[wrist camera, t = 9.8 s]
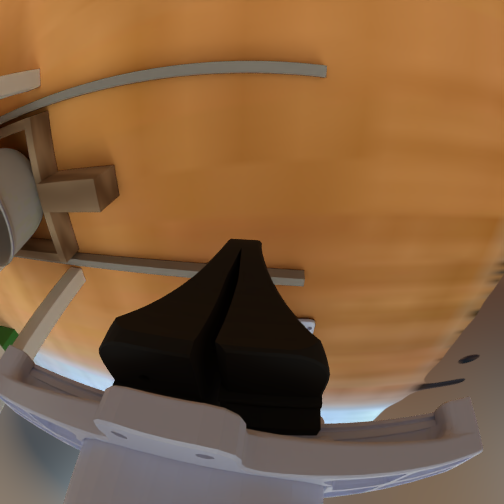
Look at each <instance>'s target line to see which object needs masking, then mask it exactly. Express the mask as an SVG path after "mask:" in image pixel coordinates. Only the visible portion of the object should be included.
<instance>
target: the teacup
mask: <svg viewBox="0 0 504 504" xmlns="http://www.w3.org/2000/svg"><path fill="white" fill-rule="evenodd" d="M42 216H43V210H42V206H41V203H40V199H39V196H38V192H37V188H36V184H35V180H34V176H33V171H32V167H31V162H30V161H29V160H28V159H27V158H26V157H25V156H24V155H23V154H22V153H20V152H19V151H17V150H15V149H11V148H1V149H0V267H3V266H6V265H8V264H9V263H10V262H11V261H12V259H13V257H14V256H15V254H16V253H17V252H18V251H19V250H20V249H21V248H22V247H23V245H24V244H25V243H26V242H27V241H28V240H29V238H30V237H31V236H32V235H33V234H34V232H35V231H36V230H37V228H38V226H39V224H40V222H41V219H42Z"/></svg>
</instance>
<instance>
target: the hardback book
mask: <svg viewBox="0 0 504 504" xmlns="http://www.w3.org/2000/svg"><path fill="white" fill-rule="evenodd" d="M17 337H18V333H17V332H16V331H15V329H11V328H7V327H3V326H0V345H1V347H2V348H3V349H4V351H6V349H7V348H8V346H9V345H13V343H14V342H15V340H16V339H17ZM4 405H5V403H4V402H3V401H2V400H1V399H0V413H1V411H2V409H3V407H4Z"/></svg>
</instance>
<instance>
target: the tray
mask: <svg viewBox="0 0 504 504" xmlns="http://www.w3.org/2000/svg"><path fill="white" fill-rule="evenodd" d="M22 130H25V134H26V141H27V146H28V152H29V157H30V162H31V167H32V171H33V176H34V180H35V184H36V188H37V192H38V196H39V199H40V203H41V206H42V210H43V213H44V216H45V220H46V223H47V226H48V229H49V232H50V235H51V238H52V239H37V238H29V240H28V241H27V242H26V243H25V244H24V245H23V247H22V248H21V249H20V250H19V251H18V252H17V253H16V254H15V256H21V257H28V258H35V259H42V260H50V261H57V262H65V263H67V262H68V261H69V260H70V259H71V258H72V257H73V255H74V254H75V253H76V252H77V251H78V250H79V247H78V244H77V241H76V238H75V235H74V232H73V228H72V225H71V222H70V218H69V215H68V212H101V211H102V210H103V209H105V208H106V207H107V206H108V205H109V204H110V203H111V202H112V201H114V200H115V199H116V198H117V197H118V196H119V191H118V185H117V180H116V174H115V168H114V165H108V166H97V167H87V168H78V169H70V170H62V171H58V170H57V165H56V160H55V155H54V149H53V143H52V137H51V130H50V122H49V114H48V111H45V112H42V113H39V114H36V115H33V116H30V117H28V118H25V119H23V120H20V121H18V122H15V123H13V124H10V125H8V126H6V127H3V128H1V129H0V139H1V138H4V137H6V136H9V135H11V134H14V133H17V132H20V131H22Z"/></svg>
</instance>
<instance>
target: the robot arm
mask: <svg viewBox="0 0 504 504" xmlns="http://www.w3.org/2000/svg"><path fill="white" fill-rule="evenodd" d="M261 247H262V243H261V242H260V241H258V240H243V239H230V240H229V241H228V242H227V243H226V244H225V245H224V246H223V248H222V249H221V250H220V251H219V252H218V253H217V254H216V255H215V256H214V257H213V258H212V259H211V260H210V261H209V263H208V264H207V265H205V266H204V267H203V268H202V269H201V270H200V271H199V272H198V273H197V274H196V275H194V276H193V277H192V278H191V279H190V280H188V281H187V282H186V283H184V284H183V285H182V286H180V287H179V288H177V289H176V290H174V291H172V292H171V293H169V294H167V295H166V296H164V297H163V298H161V299H159V300H157V301H155V302H153V303H151V304H149V305H147V306H145V307H143V308H140V309H138V310H135V311H133V312H130V313H128V314H125V315H122V316H119V317H116V319H115V320H114V322H113V323H112V325H111V326H110V328H109V330H108V332H107V334H106V336H105V338H104V340H103V342H102V344H101V346H100V347H99V354H100V357H101V359H102V361H103V363H104V364H105V366H106V367H107V369H108V370H109V372H110V373H111V375H112V376H113V378H114V379H115V381H114V383H113V386H111V387H109V388H107V389H106V390H105V391H102V390H99V389H96V388H93V387H90V386H87V385H84V384H81V383H79V382H76V381H74V380H71V379H68V378H66V377H63V376H61V375H59V374H56V373H54V372H51V371H49V370H47V369H45V368H42V367H40V366H38V365H36V364H34V362H33V360H32V359H31V358H30V356H29V355H28V354H27V353H25V352H24V351H22V350H20V349H18V348H16V347H14V346H12V345H9V346H8V348H7V349H6V351H5V352H4V354H3V356H2V357H1V359H0V399H1V400H2V401H3V402H4V403H5V404H7V405H8V406H9V407H10V408H11V409H12V410H13V411H15V412H16V413H17V414H19V415H20V416H22V417H23V418H25V419H26V420H28V421H29V422H31V423H32V424H34V425H36V426H37V427H39V428H40V429H42V430H44V431H45V432H47V433H49V434H50V435H52V436H54V437H56V438H57V439H59V440H61V441H63V442H65V443H66V444H69V445H70V446H72V447H74V448H76V449H78V450H80V454H79V456H78V459H77V462H76V465H75V468H74V471H73V474H72V477H71V480H70V483H69V487H68V490H67V493H66V496H65V500H64V503H63V504H323V498H326V497H336V496H344V495H352V494H358V493H364V492H370V491H375V490H380V489H385V488H389V487H394V486H398V485H402V484H406V483H410V482H413V481H417V480H420V479H424V478H427V477H430V476H434V475H437V474H440V473H443V472H446V471H448V470H450V469H452V468H454V467H456V466H458V465H460V464H462V463H464V462H465V461H467V460H469V459H471V458H472V457H474V456H476V455H477V454H479V453H481V452H482V451H483V446H482V441H481V436H480V432H479V428H478V424H477V420H476V416H475V413H474V409H473V405H472V402H471V399H470V397H469V396H467V397H463V398H459V399H455V400H450V401H447V402H445V403H443V404H442V405H440V406H439V407H438V408H437V409H436V410H435V412H432V413H428V414H422V415H416V416H410V417H403V418H396V419H388V420H379V421H369V422H356V423H337V424H324V420H323V418H322V417H321V416H320V408H321V407H322V394H323V392H324V390H325V388H326V385H327V383H328V381H329V376H330V372H329V366H328V361H327V357H326V354H325V351H324V348H323V346H322V343H321V341H320V340H319V339H318V338H317V337H315V336H314V335H313V332H314V328H315V321H314V320H311V319H297V317H296V316H295V315H294V314H293V312H292V311H291V310H290V309H289V307H288V306H287V305H286V303H285V302H284V300H283V299H282V297H281V296H280V294H279V292H278V291H277V289H276V287H275V285H274V283H273V281H272V279H271V277H270V274H269V272H268V270H267V267H266V264H265V261H264V258H263V254H262V248H261Z"/></svg>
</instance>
